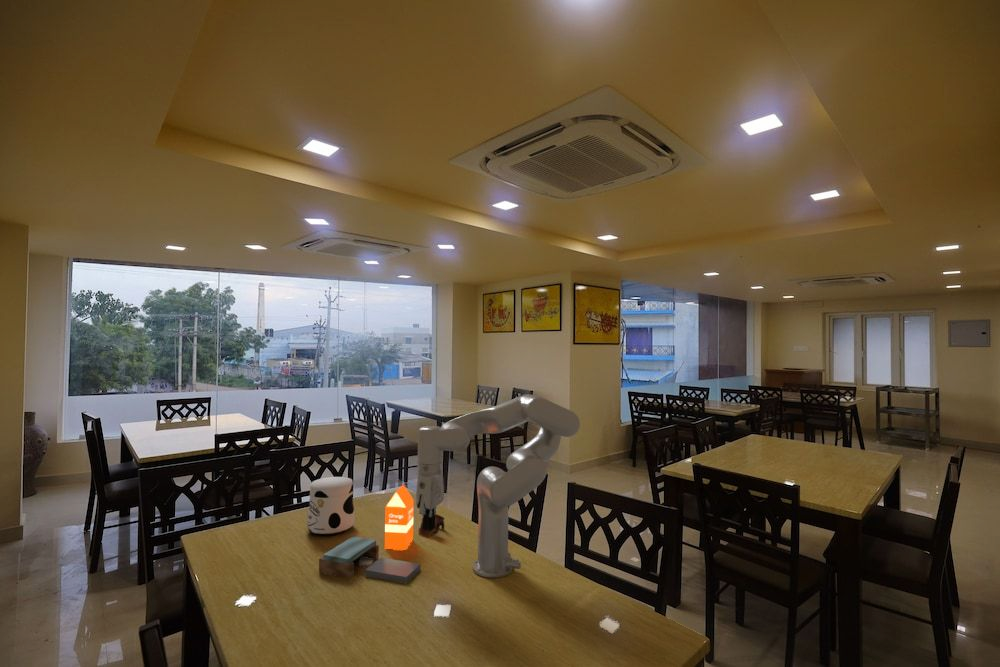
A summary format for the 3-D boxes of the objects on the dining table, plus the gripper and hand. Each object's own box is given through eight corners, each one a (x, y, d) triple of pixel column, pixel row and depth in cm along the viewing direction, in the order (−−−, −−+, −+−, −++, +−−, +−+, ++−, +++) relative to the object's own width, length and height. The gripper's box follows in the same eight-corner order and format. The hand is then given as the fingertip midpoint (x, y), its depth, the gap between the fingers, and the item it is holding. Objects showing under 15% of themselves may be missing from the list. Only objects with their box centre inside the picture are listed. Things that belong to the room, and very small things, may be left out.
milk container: (295, 535, 174) (297, 486, 174) (326, 519, 191) (327, 474, 191) (336, 541, 169) (337, 490, 169) (363, 524, 185) (364, 478, 186)
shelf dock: (378, 557, 157) (378, 540, 157) (350, 578, 142) (351, 559, 142) (348, 552, 160) (349, 535, 160) (318, 572, 146) (319, 553, 146)
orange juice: (413, 540, 171) (414, 484, 172) (406, 550, 162) (407, 491, 163) (392, 539, 172) (393, 483, 172) (384, 549, 163) (385, 490, 164)
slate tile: (420, 571, 148) (420, 563, 149) (406, 585, 140) (406, 577, 140) (381, 565, 153) (381, 557, 153) (365, 577, 144) (365, 569, 144)
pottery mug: (412, 532, 179) (420, 510, 183) (434, 540, 183) (441, 518, 187) (425, 535, 170) (433, 511, 174) (447, 542, 173) (455, 519, 177)
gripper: (430, 475, 135) (428, 540, 135) (451, 463, 149) (450, 522, 149) (406, 472, 138) (405, 536, 137) (430, 461, 152) (428, 519, 151)
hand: (428, 528), depth 143 cm, fingers closed
